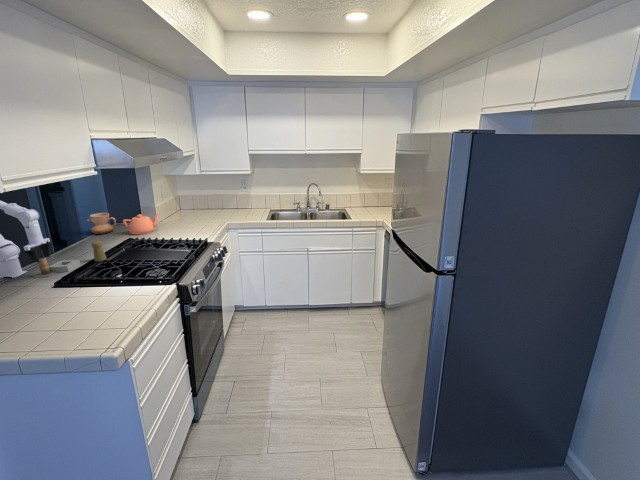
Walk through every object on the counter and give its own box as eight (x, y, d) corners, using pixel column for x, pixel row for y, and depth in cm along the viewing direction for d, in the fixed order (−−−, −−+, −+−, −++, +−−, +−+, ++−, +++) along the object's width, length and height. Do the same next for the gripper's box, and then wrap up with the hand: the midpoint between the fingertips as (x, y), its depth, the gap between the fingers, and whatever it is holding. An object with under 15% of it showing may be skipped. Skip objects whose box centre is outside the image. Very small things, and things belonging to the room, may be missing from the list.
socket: (49, 272, 175) (47, 267, 174) (62, 265, 185) (60, 260, 184) (68, 271, 176) (67, 266, 175) (80, 264, 185) (79, 259, 184)
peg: (40, 275, 171) (35, 260, 169) (44, 272, 175) (40, 258, 172) (47, 274, 172) (43, 260, 169) (51, 271, 175) (47, 257, 173)
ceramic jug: (87, 236, 241) (83, 217, 237) (93, 231, 254) (88, 213, 250) (115, 234, 247) (112, 215, 243) (119, 229, 260) (116, 211, 256)
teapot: (163, 227, 260) (160, 210, 256) (161, 232, 244) (157, 215, 240) (127, 231, 252) (124, 214, 248) (122, 237, 237) (118, 218, 233)
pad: (32, 277, 169) (32, 276, 169) (44, 271, 177) (43, 270, 177) (48, 276, 170) (48, 276, 170) (59, 270, 177) (59, 270, 177)
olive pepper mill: (104, 257, 196) (100, 239, 193) (108, 259, 193) (104, 241, 189) (92, 260, 192) (88, 241, 189) (96, 262, 188) (92, 243, 185)
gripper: (31, 237, 160) (39, 264, 164) (52, 229, 174) (59, 254, 178) (16, 238, 160) (24, 264, 164) (38, 230, 174) (46, 254, 178)
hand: (42, 259), depth 171 cm, fingers open, 7 cm apart
